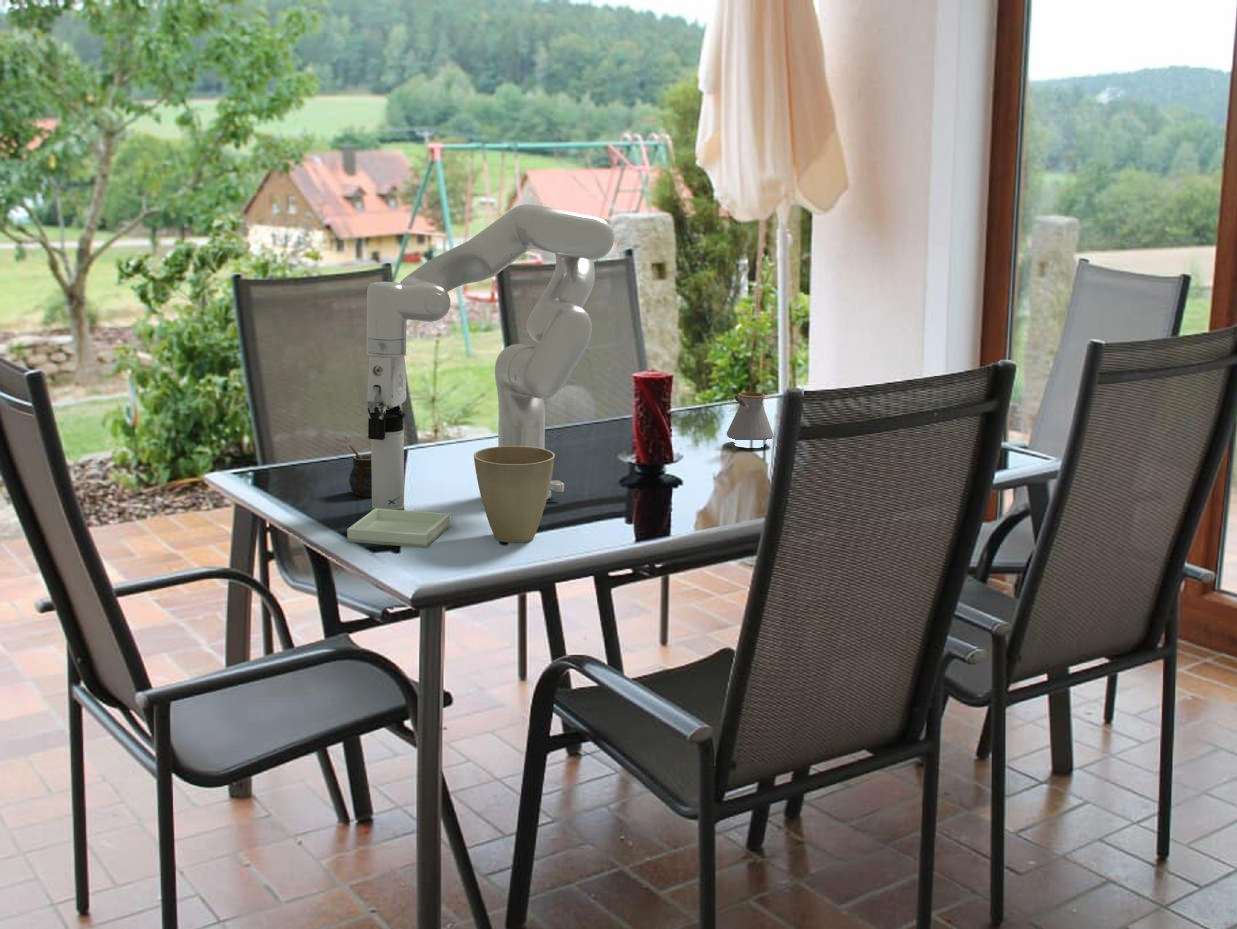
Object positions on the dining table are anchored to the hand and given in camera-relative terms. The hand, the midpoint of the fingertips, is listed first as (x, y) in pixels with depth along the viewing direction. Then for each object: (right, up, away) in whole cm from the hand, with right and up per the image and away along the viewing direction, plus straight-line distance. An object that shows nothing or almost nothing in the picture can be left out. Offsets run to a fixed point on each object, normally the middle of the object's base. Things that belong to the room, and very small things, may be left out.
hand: (385, 434), depth 271 cm
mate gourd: (-7, -12, +17) cm, 22 cm away
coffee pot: (+76, -2, +68) cm, 102 cm away
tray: (+5, -19, -11) cm, 22 cm away
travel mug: (0, -15, +4) cm, 16 cm away
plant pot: (+26, -20, -11) cm, 34 cm away
